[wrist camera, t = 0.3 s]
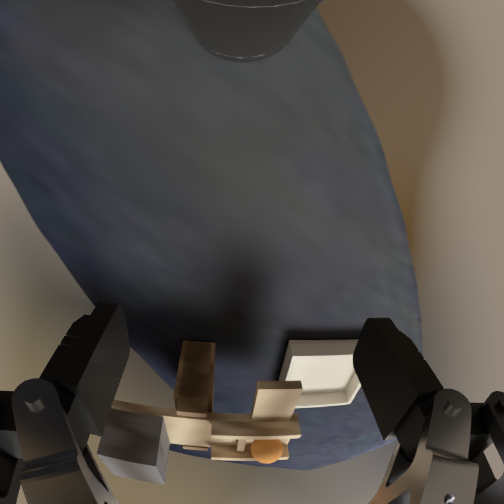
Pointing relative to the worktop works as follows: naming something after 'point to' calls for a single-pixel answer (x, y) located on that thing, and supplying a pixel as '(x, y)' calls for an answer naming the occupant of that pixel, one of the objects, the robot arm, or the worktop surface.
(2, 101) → the worktop surface
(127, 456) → the lever
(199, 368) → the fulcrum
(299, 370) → the dish
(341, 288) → the worktop surface
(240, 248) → the worktop surface
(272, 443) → the ball
